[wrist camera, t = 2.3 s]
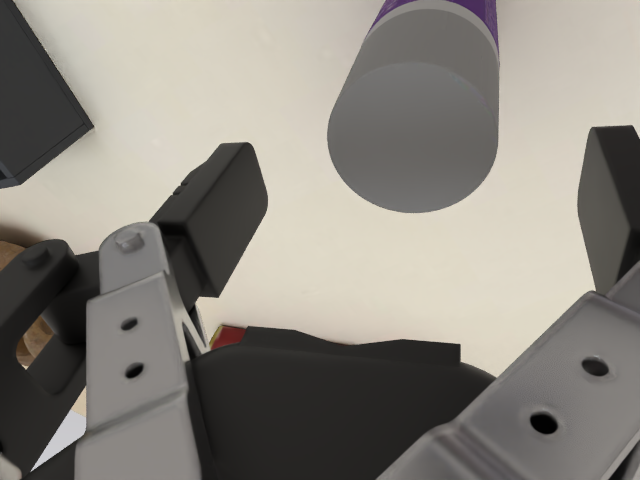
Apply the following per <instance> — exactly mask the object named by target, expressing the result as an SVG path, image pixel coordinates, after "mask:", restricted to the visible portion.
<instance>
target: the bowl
mask: <svg viewBox="0 0 640 480" xmlns="http://www.w3.org/2000/svg"><path fill="white" fill-rule="evenodd" d="M25 249H27V248H24V247H21V246H19V245H16V244H11V243H8V242H6V241H1V240H0V271H1V270H2V269H3V268H4V267H5V266H6V265H7V264H8V263H9V262H10V261H11V260H12V259H13V258H14V257H16V256H17V255H18V254H19V253H21V252H22V251H24V250H25ZM54 334H55V333H54V332H53V331H52V329H51V328H50V327H49V326H48V324H47V323H46V322H45V321H44V319H43V318H42V317H41V316H39V317H38V318H37V320H36V321H35V322H34V323H33V324H32V326H31V327H30V328H29V329H28V330H27V332H26V333H25V334H24V335H23V336H22V338H21V339H20V340H19V342H18V345H17V349H16V356H17V360H18V362H19V363H20V364H21V365H25V366H30V364H31V363H32V362H33V361H34V359H35V358H36V357H37V355H38V354H39V353H40V352H41V350H42V349H43V348H44V346H45V345H46V344H47V343H48V341H49V340H50V339H51V337H52V336H53V335H54Z"/></svg>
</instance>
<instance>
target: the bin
mask: <svg viewBox="0 0 640 480" xmlns="http://www.w3.org/2000/svg"><path fill="white" fill-rule="evenodd" d="M93 127H94V126H93V125H92V123H91V122H90V120H89V118H88V117H87V115H86V114H85V112H84V111H83V109H82V108H81V106H80V105H79V103H78V101H77V100H76V98H75V97H74V95H73V94H72V92H71V91H70V89H69V88H68V86H67V84H66V83H65V81H64V80H63V78H62V77H61V75H60V74H59V72H58V70H57V69H56V67H55V66H54V64H53V63H52V61H51V60H50V58H49V57H48V55H47V53H46V52H45V50H44V49H43V47H42V46H41V44H40V43H39V41H38V40H37V38H36V36H35V35H34V33H33V32H32V30H31V29H30V27H29V26H28V24H27V23H26V21H25V19H24V18H23V16H22V15H21V13H20V12H19V10H18V9H17V7H16V6H15V4H14V2H13V1H12V0H0V189H2V188H8V187H13V186H18V185H21V184H22V183H24V182H25V181H26V180H27V179H29V178H30V177H31V176H32V175H34V174H35V173H36V172H37V171H39V170H40V169H41V168H43V167H44V166H45V165H46V164H48V163H49V162H50V161H51V160H53V159H54V158H55V157H56V156H58V155H59V154H60V153H62V152H63V151H64V150H65V149H67V148H68V147H69V146H70V145H72V144H73V143H74V142H75V141H77V140H78V139H79V138H81V137H82V136H83V135H84V134H86V133H87V132H88V131H89V130H91V129H92V128H93Z"/></svg>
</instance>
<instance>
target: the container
mask: <svg viewBox="0 0 640 480" xmlns="http://www.w3.org/2000/svg"><path fill="white" fill-rule="evenodd" d="M499 67H500V62H499V46H498V30H497V14H496V0H386V1H385V3H384V5H383V6H382V8H381V10H380V12H379V14H378V16H377V17H376V19H375V21H374V23H373V25H372V27H371V28H370V30H369V32H368V34H367V36H366V37H365V39H364V42H363V44H362V46H361V49H360V51H359V53H358V55H357V57H356V60H355V62H354V64H353V66H352V68H351V70H350V73H349V75H348V77H347V79H346V81H345V84H344V86H343V88H342V90H341V92H340V94H339V97H338V99H337V101H336V103H335V105H334V108H333V110H332V113H331V115H330V119H329V123H328V131H327V141H328V149H329V153H330V157H331V160H332V162H333V164H334V166H335V168H336V170H337V172H338V174H339V175H340V177H341V178H342V179H343V181H344V182H345V183H346V184H347V185H348V186H349V187H350V188H351V189H352V190H353V191H354V192H355V193H357V194H358V195H359V196H361V197H362V198H364V199H365V200H367V201H369V202H371V203H372V204H375V205H377V206H379V207H382V208H385V209H388V210H392V211H397V212H404V213H424V212H431V211H436V210H440V209H443V208H446V207H449V206H451V205H453V204H455V203H457V202H459V201H461V200H463V199H464V198H466V197H467V196H468V195H470V194H471V193H472V192H473V191H474V190H476V189H477V188H478V187H479V185H480V184H481V183H482V182H483V181H484V180H485V178H486V177H487V175H488V173H489V172H490V170H491V168H492V166H493V163H494V161H495V157H496V154H497V148H498V122H499Z"/></svg>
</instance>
